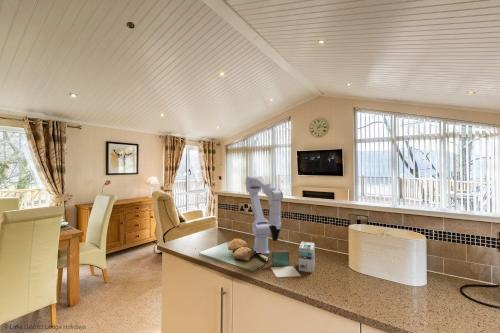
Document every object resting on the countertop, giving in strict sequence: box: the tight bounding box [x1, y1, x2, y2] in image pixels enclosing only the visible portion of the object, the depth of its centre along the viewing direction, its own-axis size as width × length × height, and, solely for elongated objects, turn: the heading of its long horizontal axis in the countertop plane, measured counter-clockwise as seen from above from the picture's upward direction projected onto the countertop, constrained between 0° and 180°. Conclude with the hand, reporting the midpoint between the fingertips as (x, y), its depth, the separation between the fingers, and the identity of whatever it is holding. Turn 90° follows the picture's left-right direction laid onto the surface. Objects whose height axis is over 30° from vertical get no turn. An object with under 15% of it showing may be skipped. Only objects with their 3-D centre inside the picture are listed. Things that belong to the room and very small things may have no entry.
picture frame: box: [271, 249, 290, 267], centre depth 117 cm, size 3×8×7 cm, turn 100°
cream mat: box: [270, 265, 301, 278], centre depth 110 cm, size 10×11×1 cm
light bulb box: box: [298, 241, 316, 274], centre depth 115 cm, size 11×7×11 cm, turn 161°
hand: (275, 240), depth 123 cm, fingers closed
